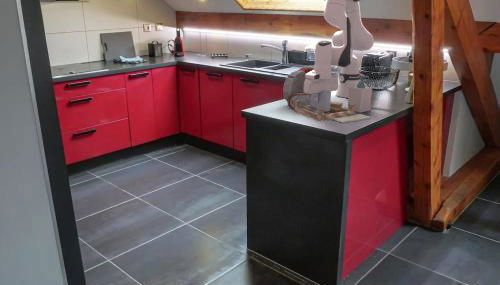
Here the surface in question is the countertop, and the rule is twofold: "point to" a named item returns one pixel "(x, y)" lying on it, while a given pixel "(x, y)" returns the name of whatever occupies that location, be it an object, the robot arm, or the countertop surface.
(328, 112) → the offcut lower
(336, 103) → the offcut upper
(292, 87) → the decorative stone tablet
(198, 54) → the countertop surface
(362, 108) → the soap bottle
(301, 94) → the tin
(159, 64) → the countertop surface
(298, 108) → the rack
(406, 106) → the countertop surface
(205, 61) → the countertop surface
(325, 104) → the lavender grey box
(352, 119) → the mat
